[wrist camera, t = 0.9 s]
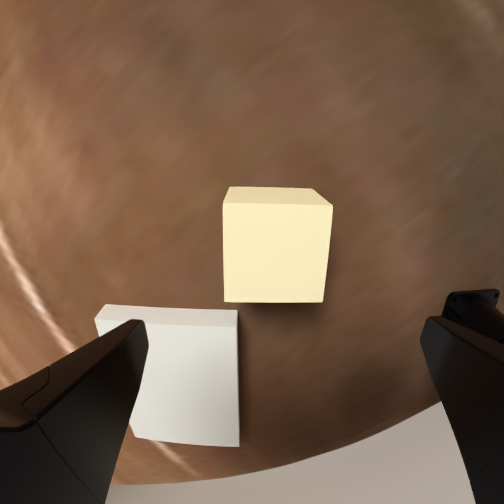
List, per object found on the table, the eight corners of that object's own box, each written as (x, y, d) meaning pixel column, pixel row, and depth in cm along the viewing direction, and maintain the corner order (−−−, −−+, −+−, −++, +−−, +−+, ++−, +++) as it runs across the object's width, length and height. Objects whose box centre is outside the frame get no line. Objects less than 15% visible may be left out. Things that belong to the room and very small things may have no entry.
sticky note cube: (312, 188, 18) (332, 205, 14) (306, 264, 20) (322, 302, 16) (229, 186, 18) (223, 203, 14) (230, 263, 20) (224, 301, 15)
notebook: (237, 307, 22) (236, 326, 19) (239, 427, 27) (239, 446, 24) (107, 301, 22) (94, 318, 19) (141, 418, 26) (135, 437, 24)
